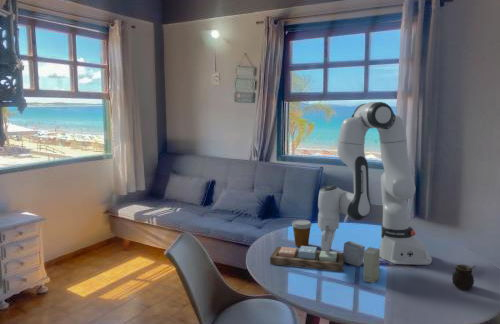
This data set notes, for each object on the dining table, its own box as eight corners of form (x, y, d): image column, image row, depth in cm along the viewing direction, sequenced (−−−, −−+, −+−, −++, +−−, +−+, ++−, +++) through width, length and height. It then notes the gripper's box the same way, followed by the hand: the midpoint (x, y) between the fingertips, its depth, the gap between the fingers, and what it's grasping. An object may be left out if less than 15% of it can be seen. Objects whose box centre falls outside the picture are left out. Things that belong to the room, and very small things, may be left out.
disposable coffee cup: (312, 248, 186) (312, 224, 184) (292, 249, 186) (292, 225, 185) (310, 241, 196) (310, 219, 194) (291, 242, 196) (291, 219, 194)
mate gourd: (453, 281, 150) (455, 256, 148) (476, 286, 145) (478, 261, 144) (449, 287, 144) (451, 262, 143) (472, 294, 140) (474, 268, 138)
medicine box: (362, 264, 168) (365, 246, 167) (357, 267, 165) (360, 248, 163) (346, 258, 174) (349, 240, 172) (341, 261, 170) (344, 242, 169)
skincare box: (373, 283, 149) (374, 254, 147) (362, 280, 152) (363, 251, 150) (379, 278, 154) (380, 248, 152) (368, 275, 157) (369, 246, 155)
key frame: (344, 259, 173) (344, 253, 172) (342, 271, 161) (342, 264, 160) (277, 252, 182) (277, 246, 182) (270, 263, 170) (270, 257, 169)
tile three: (296, 254, 176) (296, 247, 176) (293, 260, 169) (293, 253, 169) (281, 253, 178) (281, 246, 178) (278, 258, 172) (278, 251, 171)
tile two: (316, 253, 173) (316, 246, 173) (314, 259, 167) (314, 252, 166) (301, 251, 175) (301, 245, 175) (298, 257, 169) (298, 250, 168)
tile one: (337, 258, 171) (337, 251, 170) (335, 264, 164) (335, 257, 164) (321, 256, 173) (321, 250, 172) (319, 263, 166) (319, 255, 166)
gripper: (333, 231, 155) (332, 263, 157) (337, 217, 174) (337, 246, 176) (317, 230, 157) (317, 262, 159) (323, 216, 176) (323, 244, 178)
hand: (327, 253), depth 168 cm, fingers closed
